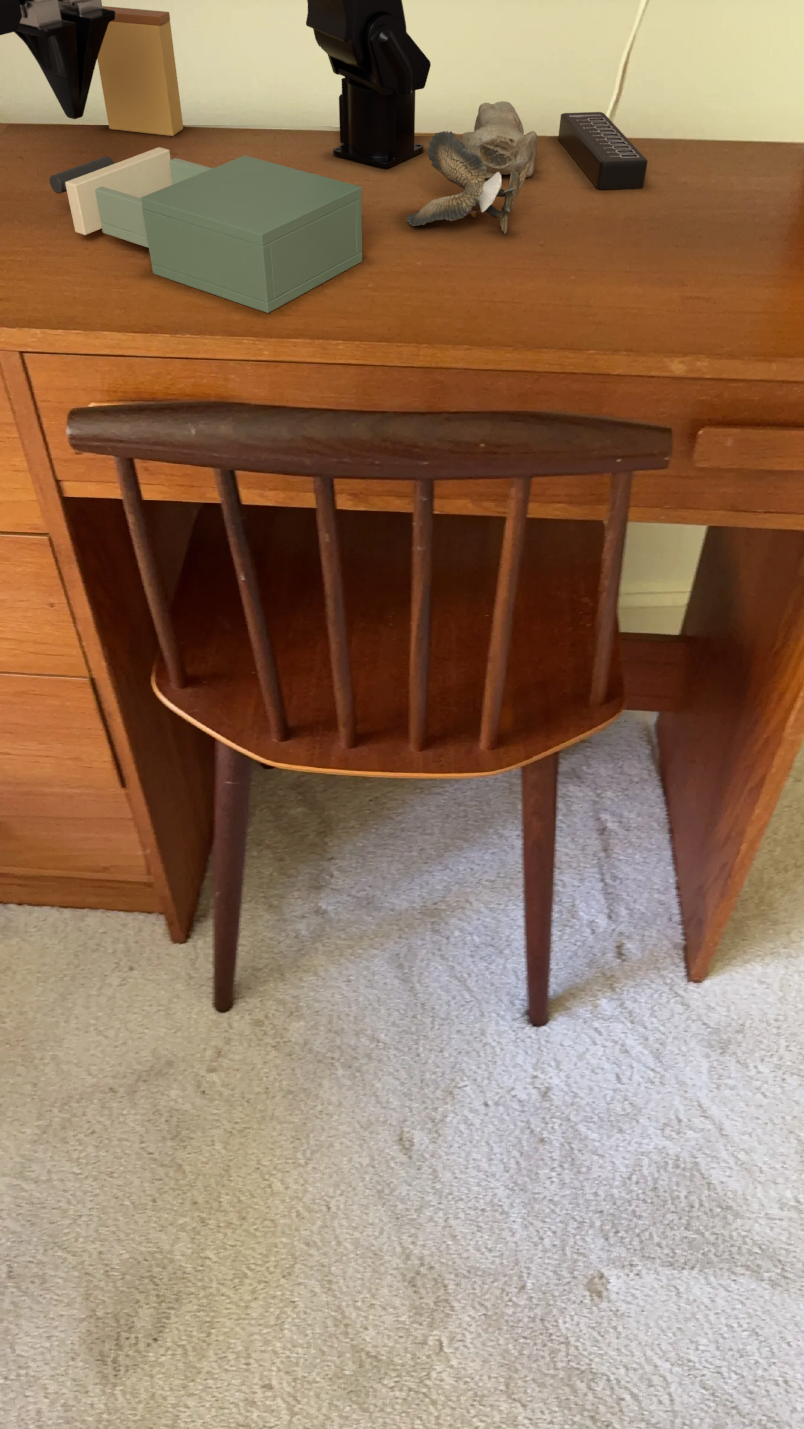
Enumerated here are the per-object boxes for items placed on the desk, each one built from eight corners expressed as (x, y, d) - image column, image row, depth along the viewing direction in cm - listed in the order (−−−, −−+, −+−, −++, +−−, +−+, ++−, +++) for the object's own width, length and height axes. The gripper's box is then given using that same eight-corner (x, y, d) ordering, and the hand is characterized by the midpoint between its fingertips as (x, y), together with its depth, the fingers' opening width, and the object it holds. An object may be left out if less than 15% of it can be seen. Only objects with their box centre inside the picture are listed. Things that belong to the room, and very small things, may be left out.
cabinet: (152, 273, 80) (140, 197, 76) (251, 227, 87) (244, 154, 83) (268, 313, 75) (261, 234, 71) (362, 261, 82) (361, 186, 78)
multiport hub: (597, 189, 94) (601, 162, 92) (557, 138, 104) (559, 112, 102) (644, 187, 94) (649, 160, 93) (599, 136, 104) (603, 110, 103)
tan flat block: (184, 128, 104) (170, 11, 97) (174, 136, 103) (158, 17, 96) (119, 121, 106) (100, 4, 99) (108, 128, 104) (87, 10, 97)
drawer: (34, 218, 85) (23, 168, 82) (127, 182, 91) (119, 135, 88) (170, 264, 79) (162, 212, 76) (259, 222, 85) (255, 172, 82)
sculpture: (453, 144, 104) (458, 185, 93) (458, 90, 101) (464, 125, 90) (523, 150, 105) (537, 191, 93) (530, 96, 102) (546, 131, 90)
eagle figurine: (526, 196, 89) (428, 162, 90) (535, 136, 82) (429, 100, 83) (495, 271, 88) (396, 237, 89) (502, 217, 81) (395, 180, 82)
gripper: (50, -157, 80) (91, 73, 92) (-164, -131, 70) (-88, 126, 81) (155, -143, 76) (184, 96, 87) (-56, -113, 65) (8, 156, 76)
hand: (74, 117), depth 83 cm, fingers closed
